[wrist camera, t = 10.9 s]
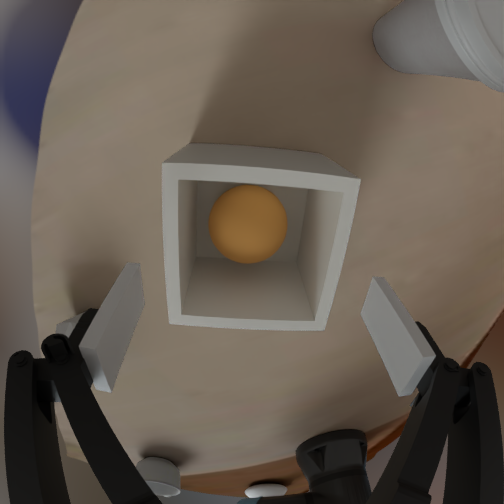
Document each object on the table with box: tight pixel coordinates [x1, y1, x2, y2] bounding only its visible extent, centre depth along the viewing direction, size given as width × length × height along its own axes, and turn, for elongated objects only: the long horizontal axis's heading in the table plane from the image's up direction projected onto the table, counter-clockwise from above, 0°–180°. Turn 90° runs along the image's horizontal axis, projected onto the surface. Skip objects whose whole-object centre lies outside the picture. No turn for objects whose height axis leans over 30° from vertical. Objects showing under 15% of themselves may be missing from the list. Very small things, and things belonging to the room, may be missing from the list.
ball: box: [208, 185, 288, 264], centre depth 25 cm, size 6×6×6 cm
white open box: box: [162, 143, 361, 331], centre depth 24 cm, size 12×12×10 cm
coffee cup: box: [373, 0, 504, 92], centre depth 14 cm, size 10×10×15 cm
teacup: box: [136, 457, 180, 497], centre depth 52 cm, size 14×11×8 cm
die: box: [56, 311, 86, 338], centre depth 32 cm, size 8×9×10 cm
